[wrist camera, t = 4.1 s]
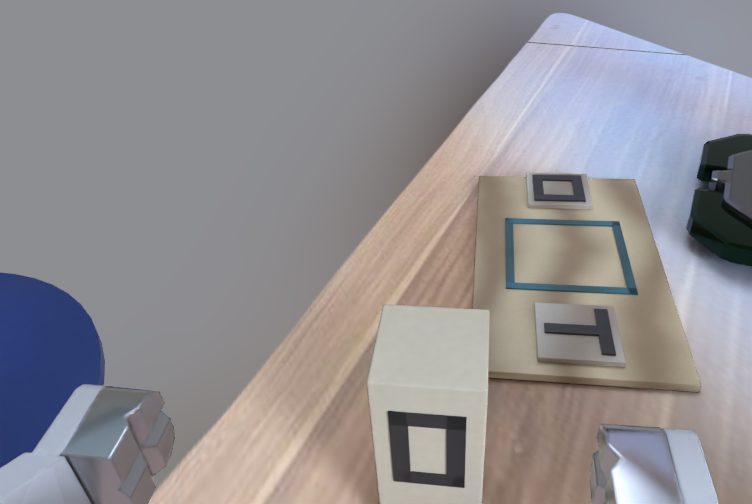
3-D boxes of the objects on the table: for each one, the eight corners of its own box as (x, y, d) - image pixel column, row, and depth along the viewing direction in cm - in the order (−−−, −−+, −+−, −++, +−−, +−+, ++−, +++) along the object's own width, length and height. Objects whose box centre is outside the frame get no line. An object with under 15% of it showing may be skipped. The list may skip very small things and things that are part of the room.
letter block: (380, 523, 32) (365, 384, 26) (393, 441, 36) (383, 303, 30) (480, 534, 31) (487, 393, 25) (482, 448, 35) (489, 309, 29)
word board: (468, 376, 39) (469, 363, 38) (478, 181, 57) (479, 170, 56) (699, 392, 37) (704, 378, 36) (633, 185, 55) (636, 173, 54)
